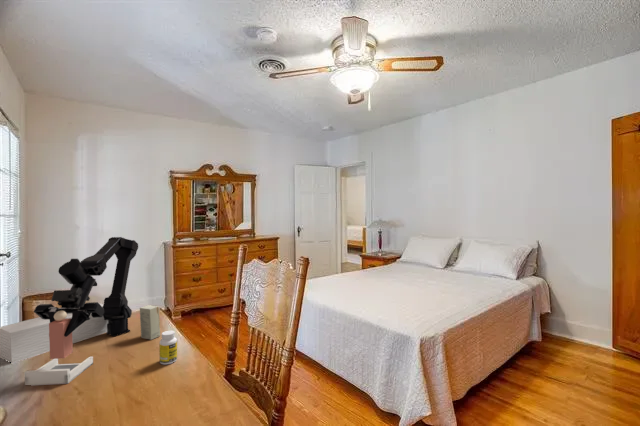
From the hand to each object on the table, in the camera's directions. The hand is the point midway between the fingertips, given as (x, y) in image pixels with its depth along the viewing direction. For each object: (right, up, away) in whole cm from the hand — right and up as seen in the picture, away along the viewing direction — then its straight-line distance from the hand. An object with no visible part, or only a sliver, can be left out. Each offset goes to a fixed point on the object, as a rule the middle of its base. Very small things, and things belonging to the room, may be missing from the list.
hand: (57, 336), depth 99 cm
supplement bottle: (+30, -12, +9) cm, 34 cm away
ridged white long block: (-20, -13, +25) cm, 34 cm away
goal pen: (0, -12, +2) cm, 13 cm away
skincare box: (+13, -12, +30) cm, 35 cm away
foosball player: (0, -7, +2) cm, 7 cm away
